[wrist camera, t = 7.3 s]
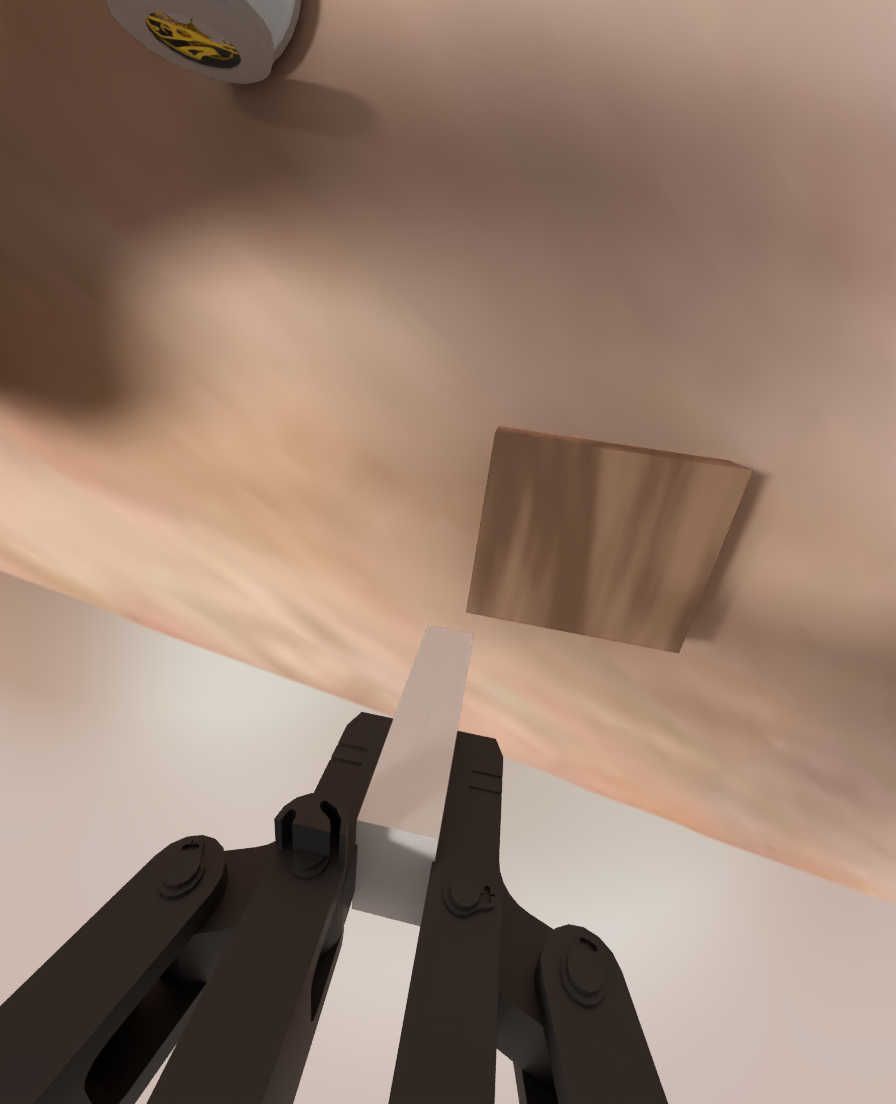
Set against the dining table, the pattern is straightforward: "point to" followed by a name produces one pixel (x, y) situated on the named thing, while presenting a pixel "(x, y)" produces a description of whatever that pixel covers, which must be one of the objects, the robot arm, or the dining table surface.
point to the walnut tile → (600, 536)
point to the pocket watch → (212, 33)
